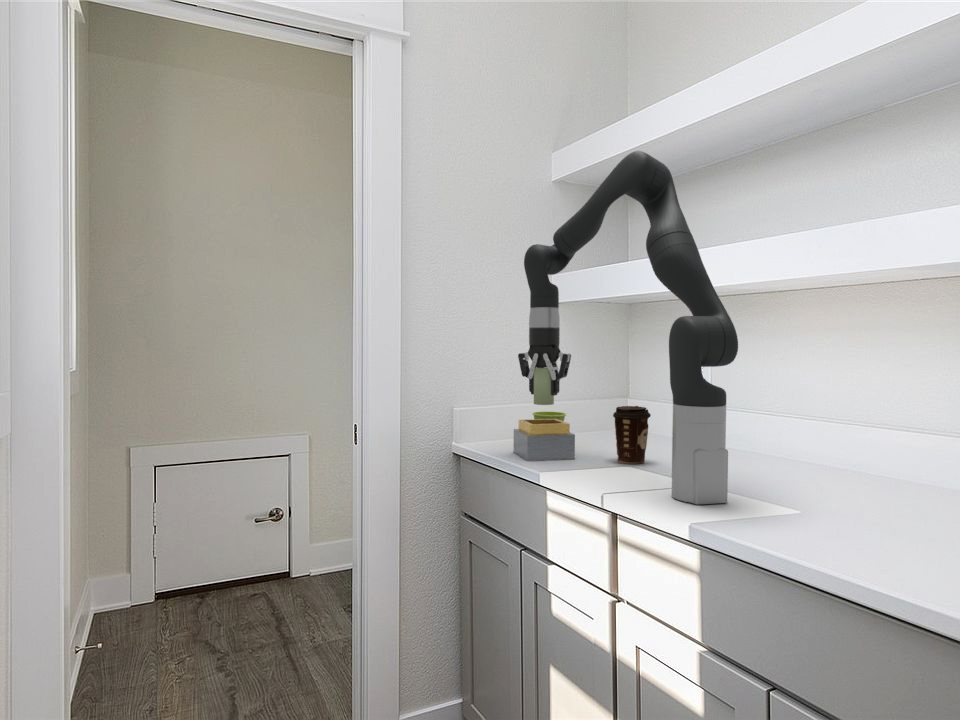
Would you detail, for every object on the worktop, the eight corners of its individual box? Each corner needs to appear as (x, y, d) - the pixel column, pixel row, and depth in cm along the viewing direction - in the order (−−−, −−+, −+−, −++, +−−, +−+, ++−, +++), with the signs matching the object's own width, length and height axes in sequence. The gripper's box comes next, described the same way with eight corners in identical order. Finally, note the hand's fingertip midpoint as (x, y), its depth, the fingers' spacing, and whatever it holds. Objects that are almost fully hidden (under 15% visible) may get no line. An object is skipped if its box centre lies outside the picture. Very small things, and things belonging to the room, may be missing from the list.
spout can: (556, 404, 157) (556, 362, 157) (537, 405, 156) (537, 362, 156) (550, 402, 162) (550, 361, 162) (531, 403, 161) (531, 361, 160)
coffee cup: (647, 458, 155) (647, 405, 155) (653, 465, 147) (653, 409, 147) (611, 458, 156) (611, 405, 156) (614, 464, 148) (615, 408, 148)
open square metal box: (574, 459, 155) (574, 424, 155) (527, 461, 152) (527, 425, 152) (557, 450, 167) (558, 418, 166) (513, 452, 164) (513, 419, 164)
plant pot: (571, 443, 178) (571, 412, 178) (557, 448, 170) (557, 416, 170) (541, 440, 183) (541, 410, 183) (526, 445, 175) (526, 413, 175)
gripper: (577, 326, 158) (576, 395, 158) (525, 326, 165) (525, 392, 166) (564, 325, 151) (564, 397, 152) (511, 326, 159) (511, 394, 160)
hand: (544, 394), depth 159 cm, fingers closed on spout can, 5 cm apart
